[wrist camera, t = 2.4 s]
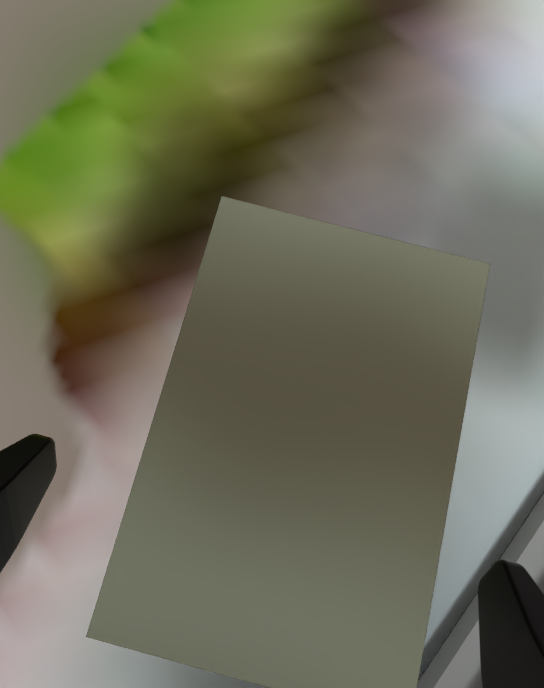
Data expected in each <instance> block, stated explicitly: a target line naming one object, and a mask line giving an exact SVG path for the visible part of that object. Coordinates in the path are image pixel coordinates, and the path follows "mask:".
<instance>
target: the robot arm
mask: <svg viewBox="0 0 544 688" xmlns="http://www.w3.org/2000/svg"><path fill="white" fill-rule="evenodd" d="M56 467H57V463H56V451H55V442H54V440H53V439H52V438H50V437H46V436H42V435H39V434H32V435H29V436H27V437H25V438H23V439H21V440H20V441H18V442H16V443H14V444H12V445H10V446H9V447H7V448H5V449H3V450H1V451H0V573H1V571H2V570H3V568H4V566H5V565H6V563H7V562H8V560H9V559H10V557H11V556H12V554H13V552H14V551H15V549H16V548H17V546H18V544H19V542H20V540H21V539H22V537H23V535H24V533H25V531H26V529H27V527H28V525H29V523H30V521H31V520H32V518H33V516H34V514H35V512H36V510H37V508H38V506H39V504H40V502H41V500H42V498H43V496H44V495H45V493H46V490H47V489H48V487H49V485H50V483H51V481H52V479H53V477H54V475H55V472H56ZM478 614H479V640H480V664H481V678H482V686H483V688H544V593H543V592H542V591H541V589H540V588H539V587H538V585H537V584H536V582H535V581H534V580H533V578H532V577H531V576H530V574H529V573H528V572H527V570H526V569H525V568H524V567H523V566H522V565H521V564H519V563H516V562H512V561H509V560H505V559H499V560H497V561H496V562H495V563H494V564H493V565H492V566H491V568H490V569H489V570H488V571H487V572H486V574H485V575H484V576H483V577H482V578H481V580H480V582H479V586H478Z"/></svg>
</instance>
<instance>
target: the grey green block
mask: <svg viewBox="0 0 544 688" xmlns="http://www.w3.org/2000/svg"><path fill="white" fill-rule="evenodd" d="M489 267H490V264H488V263H484V262H480V261H476V260H472V259H469V258H465V257H461V256H457V255H453V254H449V253H445V252H441V251H437V250H433V249H429V248H425V247H421V246H417V245H413V244H409V243H405V242H401V241H397V240H393V239H389V238H385V237H381V236H378V235H374V234H370V233H366V232H362V231H358V230H354V229H350V228H346V227H342V226H338V225H334V224H330V223H326V222H322V221H318V220H314V219H310V218H306V217H302V216H298V215H294V214H291V213H287V212H283V211H279V210H275V209H271V208H267V207H263V206H259V205H255V204H251V203H247V202H243V201H239V200H235V199H231V198H227V197H223V196H222V197H221V200H220V204H219V207H218V210H217V213H216V217H215V220H214V223H213V226H212V229H211V233H210V236H209V239H208V242H207V246H206V249H205V252H204V255H203V259H202V262H201V265H200V268H199V272H198V275H197V278H196V281H195V285H194V288H193V291H192V294H191V298H190V301H189V304H188V307H187V311H186V314H185V317H184V320H183V324H182V327H181V330H180V333H179V337H178V340H177V343H176V346H175V350H174V353H173V356H172V359H171V363H170V366H169V369H168V372H167V376H166V379H165V382H164V385H163V389H162V392H161V395H160V398H159V402H158V405H157V408H156V411H155V415H154V418H153V421H152V424H151V427H150V431H149V434H148V437H147V440H146V444H145V447H144V450H143V453H142V457H141V460H140V463H139V466H138V470H137V473H136V476H135V479H134V483H133V486H132V489H131V492H130V496H129V499H128V502H127V505H126V509H125V512H124V515H123V518H122V522H121V525H120V528H119V531H118V535H117V538H116V541H115V544H114V548H113V551H112V554H111V557H110V561H109V564H108V567H107V570H106V574H105V577H104V580H103V583H102V587H101V590H100V593H99V596H98V600H97V603H96V606H95V609H94V613H93V616H92V619H91V622H90V625H89V629H88V632H87V635H86V637H88V638H92V639H96V640H99V641H103V642H106V643H110V644H114V645H117V646H121V647H124V648H128V649H132V650H135V651H139V652H142V653H146V654H150V655H153V656H157V657H161V658H164V659H168V660H171V661H175V662H179V663H182V664H186V665H189V666H193V667H197V668H200V669H204V670H207V671H211V672H215V673H218V674H222V675H225V676H229V677H233V678H236V679H240V680H243V681H247V682H251V683H254V684H258V685H261V686H265V687H269V688H417V683H418V677H419V672H420V666H421V660H422V654H423V649H424V643H425V637H426V631H427V625H428V620H429V614H430V608H431V602H432V596H433V591H434V585H435V579H436V573H437V568H438V562H439V556H440V550H441V544H442V539H443V533H444V527H445V521H446V515H447V510H448V504H449V498H450V492H451V487H452V481H453V475H454V469H455V463H456V458H457V452H458V446H459V440H460V435H461V429H462V423H463V417H464V411H465V406H466V400H467V394H468V388H469V382H470V377H471V371H472V365H473V359H474V354H475V348H476V342H477V336H478V330H479V325H480V319H481V313H482V307H483V301H484V296H485V290H486V284H487V278H488V273H489Z"/></svg>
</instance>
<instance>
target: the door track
mask: <svg viewBox="0 0 544 688" xmlns="http://www.w3.org/2000/svg"><path fill="white" fill-rule="evenodd" d="M500 559H505V560H509V561H512V562H516V563H519V564H521V565H522V566H523V567H524V568H525V569H526V570H527V572H528V573H529V574H530V576H531V577H532V578H533V580H534V581H535V582H536V584H537V585H538V587H539V588H540V589H541V591H542V592H543V593H544V493H543V495H542V496H541V498H540V499H539V501H538V502H537V504H536V505H535V507H534V508H533V510H532V511H531V513H530V514H529V516H528V517H527V519H526V520H525V522H524V523H523V525H522V526H521V528H520V529H519V531H518V532H517V534H516V535H515V537H514V538H513V540H512V541H511V543H510V544H509V546H508V547H507V549H506V550H505V552H504V553H503V555H502V556H501V558H500ZM417 688H483V686H482V678H481V664H480V640H479V614H478V592H477V594H476V595H475V597H474V598H473V600H472V602H471V603H470V605H469V606H468V608H467V609H466V611H465V612H464V614H463V615H462V617H461V618H460V620H459V621H458V623H457V624H456V626H455V627H454V629H453V630H452V632H451V633H450V635H449V636H448V638H447V639H446V641H445V642H444V644H443V645H442V647H441V648H440V650H439V651H438V653H437V654H436V656H435V657H434V659H433V660H432V662H431V663H430V665H429V666H428V668H427V669H426V671H425V672H424V674H423V675H422V677H421V678H420V680H419V681H418V683H417Z"/></svg>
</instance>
